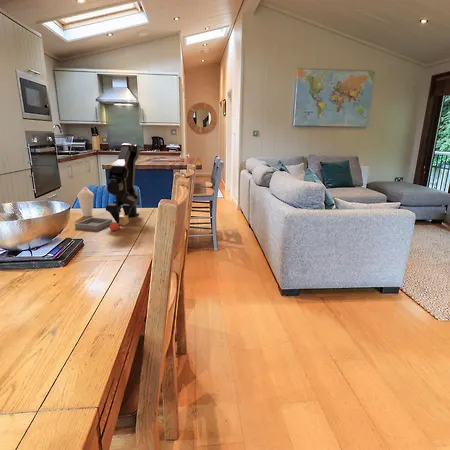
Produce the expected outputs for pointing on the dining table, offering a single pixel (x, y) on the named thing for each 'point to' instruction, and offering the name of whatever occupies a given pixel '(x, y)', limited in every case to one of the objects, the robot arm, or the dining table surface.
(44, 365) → the dining table surface
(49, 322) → the dining table surface
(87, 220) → the dish
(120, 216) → the block
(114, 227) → the tomato
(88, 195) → the soft serve ice cream cone
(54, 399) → the dining table surface
